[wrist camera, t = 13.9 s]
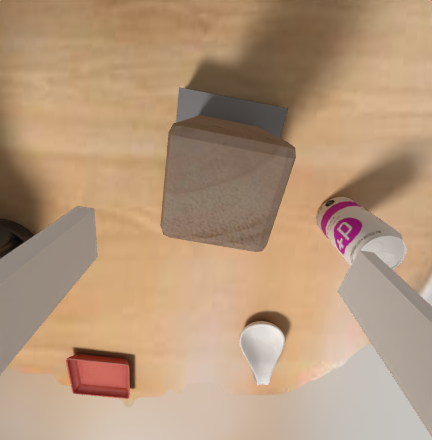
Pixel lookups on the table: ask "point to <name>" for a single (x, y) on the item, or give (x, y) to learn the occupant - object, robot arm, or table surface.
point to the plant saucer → (99, 375)
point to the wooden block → (223, 182)
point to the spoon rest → (262, 348)
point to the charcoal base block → (231, 110)
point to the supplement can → (359, 232)
